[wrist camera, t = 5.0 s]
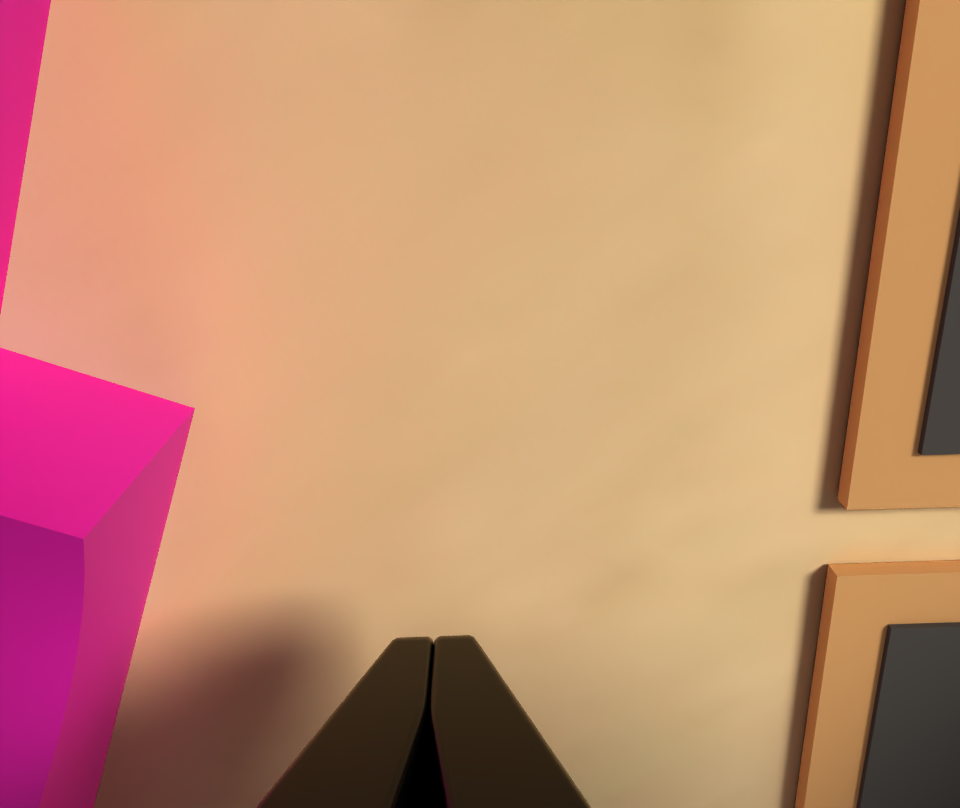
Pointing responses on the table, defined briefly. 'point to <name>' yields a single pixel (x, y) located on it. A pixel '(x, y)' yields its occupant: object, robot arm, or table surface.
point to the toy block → (67, 514)
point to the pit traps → (900, 467)
